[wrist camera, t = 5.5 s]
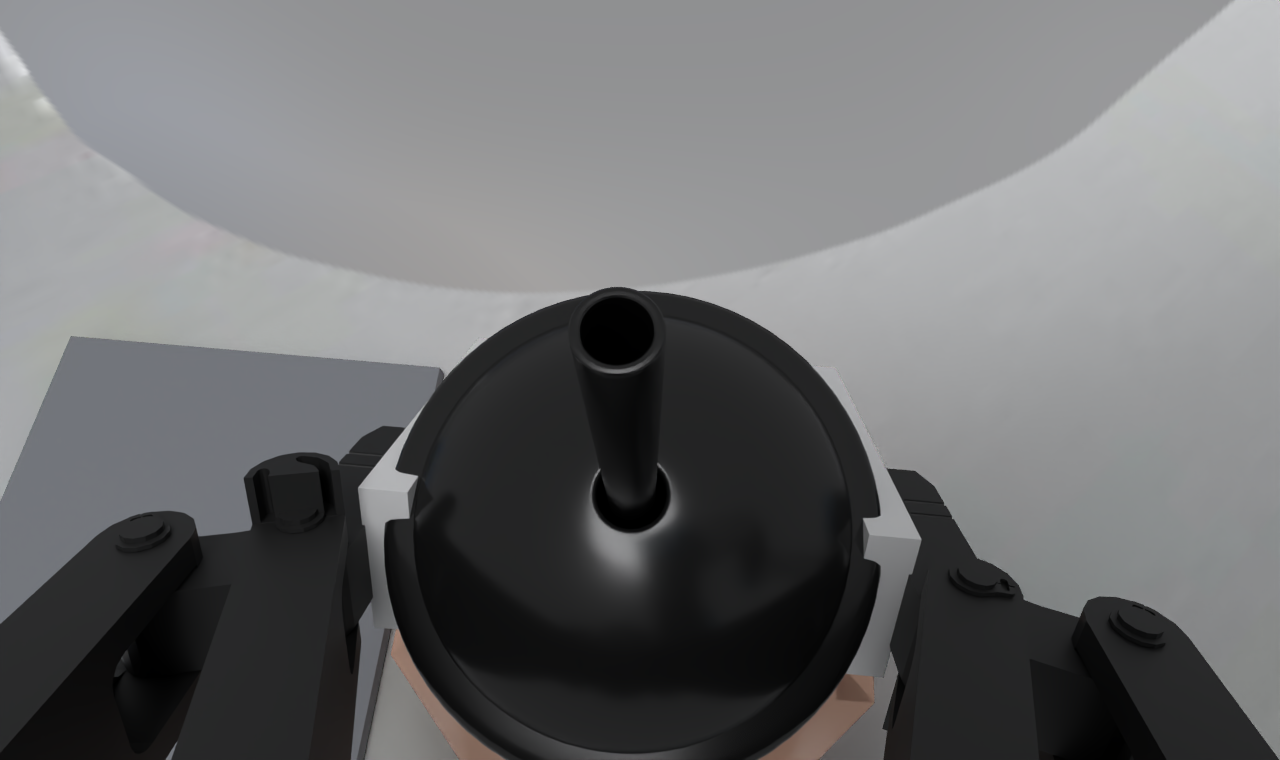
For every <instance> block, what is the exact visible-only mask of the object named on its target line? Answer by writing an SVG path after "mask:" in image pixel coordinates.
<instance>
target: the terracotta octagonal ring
mask: <svg viewBox="0 0 1280 760" xmlns="http://www.w3.org/2000/svg"><path fill="white" fill-rule="evenodd" d="M391 656H392V657H393V659H394V660H395V662H396V663H397V665H398V667H399V668H400V670H401V671H402V673H403V674H404V676H405V677H406V679H407V680H408V682H409V683H410V685H411V686H412V688H413V689H414V691H415V693H416V694H417V696H418V697H419V699H420V700H421V702H422V703H423V705H424V706H425V708H426V709H427V711H428V712H429V714H430V716H431V717H432V719H433V720H434V722H435V723H436V725H437V726H438V728H439V729H440V731H441V732H442V734H443V735H444V737H445V739H446V740H447V742H448V743H449V745H450V746H451V748H452V749H453V751H454V752H455V754H456V755H457V757H458V758H459V760H505V759H504V758H502V757H501V756H499V755H498V754H496V753H495V752H493V751H491V750H490V749H488V748H487V747H486V746H484V745H483V744H482V743H480V742H479V741H478V740H477V739H476V738H474V737H473V736H472V735H471V734H470V733H468V732H467V731H466V730H465V729H464V728H463V727H462V726H461V725H460V724H459V723H458V722H457V721H456V720H455V719H454V718H453V717H452V716H451V715H450V714H449V713H448V712H447V711H446V710H445V708H444V707H443V706H442V705H441V704H440V702H439V701H438V700H437V698H436V697H435V696H434V695H433V693H432V692H431V691H430V689H429V688H428V686H427V685H426V683H425V682H424V680H423V678H422V677H421V675H420V674H419V672H418V670H417V669H416V667H415V665H414V663H413V661H412V659H411V657H410V655H409V653H408V651H407V649H406V647H405V645H404V642H403V640H402V637H401V634H400V632H399V630H398V629H396V632H395V637H394V642H393V646H392V651H391ZM873 704H874V677H873V676H863V675H853V674H845V676H844V677H843V679H842V680H841V682H840V683H839V685H838V686H837V688H836V689H835V691H834V692H833V694H832V695H831V696H830V697H829V699H828V700H827V701H826V702H825V703H824V704H823V706H822V707H821V708H820V709H819V710H818V712H817V713H816V714H815V715H814V716H813V717H812V718H811V719H810V720H809V721H808V722H807V723H806V724H805V725H804V726H803V727H802V728H801V729H800V730H799V731H797V732H796V733H795V734H794V735H793V736H792V737H791V738H789V739H788V740H787V741H785V742H784V743H783V744H781V745H780V746H779V747H777V748H776V749H775V750H773V751H772V752H770V753H769V754H767V755H766V756H764V757H762V758H760V759H759V760H819V759H820V758H821V757H822V756H823V755H824V754H825V753H826V752H827V751H828V750H829V749H830V748H831V747H832V746H833V745H834V744H835V743H836V742H837V740H838V739H839V738H840V737H841V736H842V735H843V734H844V733H845V732H846V731H847V730H848V729H849V728H850V727H851V726H852V725H853V724H854V723H855V722H856V721H857V720H858V719H859V718H860V717H861V716H862V715H863V714H864V713H865V712H866V711H867V710H868V709H869V708H870V707H871V706H872V705H873Z"/></svg>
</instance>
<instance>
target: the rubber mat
mask: <svg viewBox="0 0 1280 760" xmlns="http://www.w3.org/2000/svg"><path fill="white" fill-rule="evenodd" d="M443 377H444V373H443V372H442V370H441V369H440V368H437V367H425V366H413V365H402V364H390V363H378V362H366V361H355V360H343V359H331V358H320V357H308V356H296V355H284V354H273V353H261V352H249V351H238V350H226V349H214V348H202V347H191V346H179V345H167V344H156V343H144V342H132V341H120V340H109V339H97V338H85V337H74V336H71V337H70V339H69V342H68V344H67V346H66V349H65V351H64V353H63V356H62V358H61V361H60V363H59V365H58V368H57V370H56V372H55V375H54V377H53V379H52V382H51V384H50V386H49V389H48V391H47V393H46V396H45V398H44V400H43V403H42V405H41V407H40V410H39V412H38V414H37V417H36V419H35V422H34V424H33V426H32V429H31V431H30V433H29V436H28V438H27V440H26V443H25V445H24V447H23V450H22V452H21V454H20V457H19V459H18V461H17V464H16V466H15V468H14V471H13V473H12V475H11V478H10V480H9V483H8V485H7V487H6V490H5V492H4V494H3V497H2V499H1V501H0V624H1V623H2V622H3V621H4V620H5V619H6V618H7V617H8V616H10V615H11V614H12V613H13V612H14V611H15V610H16V609H17V608H18V607H19V606H20V605H22V604H23V603H24V602H25V601H26V600H27V599H28V598H29V597H30V596H31V595H32V594H34V593H35V592H36V591H37V590H38V589H39V588H40V587H41V586H42V585H43V584H44V583H45V582H47V581H48V580H49V579H50V578H51V577H52V576H53V575H54V574H55V573H56V572H57V571H59V570H60V569H61V568H62V567H63V566H64V565H65V564H66V563H67V562H68V561H69V560H71V559H72V558H73V557H74V556H75V555H76V554H77V553H78V552H79V551H80V550H81V549H83V548H84V547H85V546H86V545H87V544H88V543H89V542H90V541H91V540H92V539H93V538H94V537H96V536H97V535H98V534H99V533H101V532H102V531H104V530H105V529H107V528H108V527H110V526H111V525H113V524H115V523H118V522H120V521H122V520H125V519H127V518H129V517H131V516H134V515H138V514H143V513H146V512H157V511H176V512H182V513H186V514H187V515H189V516H190V517H192V518H194V521H195V525H196V529H197V533H198V536H208V535H217V534H227V533H236V532H243V531H249V530H250V529H251V527H252V520H251V515H250V510H249V505H248V500H247V495H246V489H245V484H244V479H243V478H244V477H245V475H246V474H247V473H248V472H249V470H250V469H252V468H253V467H255V466H256V465H258V464H260V463H261V462H263V461H265V460H268V459H271V458H274V457H277V456H280V455H285V454H291V453H297V452H316V453H320V454H324V455H328V456H330V457H332V458H333V459H334V460H336V461H337V462H338V465H339V462H340V460H341V459H342V458H343V457H344V456H345V455H346V454H349V451H350V449H351V448H352V447H353V446H354V445H355V444H356V443H357V442H358V441H359V439H360V438H361V437H363V436H365V435H366V434H368V433H370V432H372V431H374V430H376V429H378V428H380V427H381V426H392V427H403V428H406V427H407V426H408V425H409V424H410V422H411V421H412V420H413V419H414V417H415V416H416V415H417V414H418V412H419V411H420V410H421V409H422V407H423V406H424V405H425V404H426V402H427V401H428V400H429V399H430V397H431V396H432V394H433V393H434V392H435V390H436V389H437V388H438V386H439V385H440V384H441V383H442V381H443ZM359 626H360V634H361V652H360V663H359V674H358V685H357V697H356V708H355V719H354V730H353V741H352V752H351V760H364V755H365V751H366V746H367V741H368V736H369V731H370V727H371V722H372V717H373V712H374V707H375V703H376V698H377V693H378V688H379V683H380V679H381V674H382V669H383V664H384V660H385V655H386V650H387V645H388V640H389V636H390V631H391V629H387V628H377V627H374V622H373V613H372V605H371V602H370V604H369V605H368V607H367V608H366V610H365V612H364V613H363V615H362V617H361V618H360V620H359ZM176 744H177V742H176ZM176 744H175V746H174V747H173V749H172V750H171V752H170V753H169V755H168V757H167V758H166V760H171V758H172V756H173V753H174V750H175V747H176Z"/></svg>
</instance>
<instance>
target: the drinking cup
mask: <svg viewBox="0 0 1280 760" xmlns="http://www.w3.org/2000/svg"><path fill="white" fill-rule="evenodd" d="M395 470H397V471H398V472H401V473H405V474H410V475H416V476H418V481H417V485H416V490H415V495H414V499H413V504H412V509H411V514H410V518H409V519H392V520H389V521H387V522H386V523H385V528H384V565H385V574H386V580H387V588H388V593H389V598H390V602H391V606H392V610H393V614H394V617H395V621H396V624H397V626H398V629H399V632H400V634H401V637H402V640H403V642H404V645H405V647H406V649H407V651H408V653H409V655H410V657H411V659H412V661H413V663H414V665H415V667H416V669H417V670H418V672H419V674H420V675H421V677H422V678H423V680H424V682H425V683H426V685H427V686H428V688H429V689H430V691H431V692H432V693H433V695H434V696H435V697H436V698H437V700H438V701H439V702H440V704H441V705H442V706H443V707H444V708H445V710H446V711H447V712H448V713H449V714H450V715H451V716H452V717H453V718H454V719H455V720H456V721H457V722H458V723H459V724H460V725H461V726H462V727H463V728H464V729H465V730H466V731H467V732H468V733H470V734H471V735H472V736H473V737H474V738H476V739H477V740H478V741H479V742H480V743H482V744H483V745H484V746H486V747H487V748H488V749H490V750H491V751H493V752H495V753H496V754H498V755H499V756H501V757H502V758H504V759H505V760H759V759H760V758H762V757H764V756H766V755H767V754H769V753H770V752H772V751H773V750H775V749H776V748H777V747H779V746H780V745H781V744H783V743H784V742H785V741H787V740H788V739H789V738H791V737H792V736H793V735H794V734H795V733H796V732H797V731H799V730H800V729H801V728H802V727H803V726H804V725H805V724H806V723H807V722H808V721H809V720H810V719H811V718H812V717H813V716H814V715H815V714H816V713H817V712H818V710H819V709H820V708H821V707H822V706H823V704H824V703H825V702H826V701H827V700H828V699H829V697H830V696H831V695H832V694H833V692H834V691H835V689H836V688H837V686H838V685H839V683H840V682H841V680H842V679H843V677H844V676H845V674H846V673H847V671H848V669H849V667H850V665H851V663H852V662H853V660H854V658H855V656H856V654H857V652H858V650H859V648H860V646H861V643H862V641H863V638H864V636H865V634H866V631H867V629H868V626H869V623H870V619H871V616H872V613H873V609H874V606H875V602H876V598H877V592H878V587H879V582H880V576H881V566H880V565H879V564H878V563H877V562H875V561H872V560H868V559H864V542H863V518H876V517H879V516H881V508H880V501H879V496H878V491H877V486H876V481H875V478H874V474H873V471H872V468H871V464H870V461H869V458H868V455H867V452H866V450H865V448H864V445H863V443H862V441H861V438H860V436H859V434H858V431H857V430H856V428H855V426H854V424H853V422H852V420H851V418H850V416H849V415H848V413H847V411H846V410H845V408H844V407H843V405H842V404H841V402H840V401H839V399H838V398H837V396H836V395H835V393H834V392H833V391H832V389H831V388H830V387H829V386H828V384H827V383H826V382H825V381H824V379H823V378H822V377H821V376H820V375H819V373H818V372H817V371H816V370H815V369H814V368H813V367H812V366H811V365H810V364H809V363H808V362H807V361H806V360H805V359H804V358H803V357H802V356H801V355H799V354H798V353H797V352H796V351H795V350H794V349H793V348H791V347H790V346H789V345H788V344H787V343H785V342H784V341H783V340H781V339H780V338H778V337H777V336H776V335H774V334H773V333H771V332H770V331H768V330H767V329H765V328H763V327H762V326H760V325H758V324H757V323H755V322H753V321H751V320H750V319H748V318H745V317H743V316H741V315H739V314H737V313H735V312H733V311H731V310H728V309H725V308H723V307H720V306H718V305H715V304H712V303H709V302H705V301H702V300H698V299H695V298H691V297H686V296H681V295H676V294H669V293H661V292H651V291H637V290H634V289H630V288H625V287H610V288H605V289H601V290H599V291H596V292H594V293H592V294H590V295H587V296H582V297H578V298H574V299H570V300H566V301H563V302H560V303H557V304H554V305H551V306H548V307H545V308H543V309H540V310H538V311H536V312H534V313H531V314H529V315H527V316H525V317H523V318H521V319H519V320H517V321H515V322H514V323H512V324H510V325H508V326H506V327H505V328H503V329H501V330H500V331H499V332H497V333H496V334H494V335H493V336H491V337H490V338H488V339H487V340H486V341H484V342H483V343H482V344H480V345H479V346H478V347H477V348H476V349H474V350H473V351H472V352H471V353H470V354H468V355H467V356H466V357H465V358H464V359H463V360H462V361H461V362H460V363H459V364H458V365H457V366H456V367H455V368H454V369H453V370H452V371H451V372H450V373H449V375H448V376H447V377H446V378H445V379H444V380H443V382H442V383H441V384H440V385H439V386H438V388H437V389H436V390H435V392H434V393H433V394H432V396H431V397H430V399H429V400H428V402H427V403H426V404H425V406H424V408H423V409H422V411H421V413H420V414H419V416H418V418H417V420H416V421H415V423H414V425H413V427H412V429H411V431H410V433H409V435H408V437H407V439H406V442H405V444H404V446H403V448H402V451H401V453H400V456H399V459H398V462H397V465H396V468H395Z"/></svg>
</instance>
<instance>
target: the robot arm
mask: <svg viewBox="0 0 1280 760" xmlns="http://www.w3.org/2000/svg"><path fill="white" fill-rule="evenodd" d="M487 339H488V338H478V339H477V340H476V342H475V343H474V344H473V345H472V346H471V348H470V349H469V350H468V351H467V353H466V354H465V355H464V356H463V358H462V359H461V360H460V361H459V363H460V362H461V361H462V360H463V359H464V358H465V357H466V356H467V355H468V354H470V353H471V352H472V351H473V350H474V349H476V348H477V347H478V346H479V345H480V344H482V343H483V342H484V341H486V340H487ZM459 363H458V364H459ZM458 364H457V365H458ZM457 365H456V366H457ZM456 366H455V367H456ZM812 367H813V368H814V369H815V370H816V371H817V372H818V373H819V375H820V376H821V377H822V378H823V379H824V381H825V382H826V383H827V384H828V386H829V387H830V388H831V389H832V391H833V392H834V393H835V395H836V396H837V398H838V399H839V401H840V402H841V404H842V405H843V407H844V408H845V410H846V411H847V413H848V415H849V416H850V418H851V420H852V422H853V424H854V426H855V428H856V430H857V431H858V434H859V436H860V438H861V441H862V443H863V445H864V448H865V450H866V452H867V455H868V458H869V461H870V464H871V468H872V471H873V474H874V478H875V481H876V486H877V491H878V496H879V501H880V508H881V516H879V517H876V518H863V542H864V559H868V560H872V561H875V562H877V563H878V564H879V565H880V566H881V576H880V582H879V587H878V592H877V598H876V602H875V606H874V609H873V613H872V616H871V619H870V623H869V626H868V629H867V631H866V634H865V636H864V638H863V641H862V643H861V646H860V648H859V650H858V652H857V654H856V656H855V658H854V660H853V662H852V663H851V665H850V667H849V669H848V671H847V673H846V674H853V675H863V676H873V677H884V674H885V670H886V667H887V663H888V659H889V656H890V652H892V654H893V657H894V660H895V663H896V666H897V669H898V672H899V673H898V676H897V680H896V683H895V687H894V690H893V694H892V697H891V701H890V704H889V708H888V711H887V715H886V718H885V722H884V725H883V729H885V730H887V738H886V745H885V753H884V760H1279V759H1278V758H1277V756H1276V755H1275V754H1274V752H1273V751H1272V749H1271V748H1270V747H1269V745H1268V744H1267V743H1266V741H1265V740H1264V739H1263V737H1262V736H1261V735H1260V733H1259V732H1258V731H1257V729H1256V728H1255V726H1254V725H1253V724H1252V722H1251V721H1250V720H1249V718H1248V717H1247V716H1246V714H1245V713H1244V712H1243V710H1242V709H1241V708H1240V706H1239V705H1238V704H1237V702H1236V701H1235V699H1234V698H1233V697H1232V695H1231V694H1230V693H1229V691H1228V690H1227V689H1226V687H1225V686H1224V685H1223V683H1222V682H1221V681H1220V679H1219V678H1218V676H1217V675H1216V674H1215V672H1214V671H1213V670H1212V668H1211V667H1210V666H1209V664H1208V663H1207V662H1206V660H1205V659H1204V658H1203V656H1202V655H1201V654H1200V652H1199V651H1198V649H1197V648H1196V647H1195V645H1194V644H1193V643H1192V641H1191V640H1190V639H1189V637H1188V636H1187V635H1186V634H1185V633H1184V632H1183V631H1182V630H1181V629H1180V628H1179V627H1178V626H1177V625H1176V624H1175V623H1173V622H1172V621H1170V620H1169V619H1167V618H1166V617H1164V616H1163V615H1161V614H1160V613H1158V612H1157V611H1155V610H1153V609H1151V608H1149V607H1145V606H1144V605H1142V604H1139V603H1137V602H1134V601H1129V600H1125V599H1121V598H1117V597H1097V598H1094V599H1091V600H1088V601H1087V603H1086V605H1085V607H1084V609H1083V611H1082V613H1081V616H1080V618H1079V617H1075V616H1072V615H1068V614H1065V613H1062V612H1058V611H1055V610H1052V609H1048V608H1045V607H1041V606H1039V605H1036V604H1033V603H1030V602H1027V601H1025V600H1024V599H1023V595H1022V592H1021V590H1020V587H1019V585H1018V584H1017V583H1016V582H1015V581H1014V580H1013V579H1012V578H1011V577H1010V576H1009V575H1008V574H1007V573H1005V572H1004V571H1002V570H1001V569H999V568H997V567H996V566H994V565H993V564H990V563H988V562H985V561H982V560H980V559H977V558H976V556H975V554H974V553H973V551H972V549H971V548H970V546H969V544H968V542H967V541H966V539H965V537H964V536H963V534H962V532H961V531H960V529H959V527H958V526H957V524H956V522H955V521H954V519H952V515H951V514H950V512H949V510H948V509H947V507H946V506H944V502H943V500H942V499H941V497H940V495H939V493H938V492H937V490H936V488H935V487H934V486H933V485H932V484H931V483H929V482H928V481H927V480H926V479H924V478H923V477H922V476H921V475H919V474H918V473H917V472H916V471H909V470H897V469H886V467H885V465H884V463H883V461H882V459H881V457H880V455H879V453H878V451H877V449H876V447H875V445H874V443H873V441H872V439H871V437H870V435H869V433H868V431H867V429H866V427H865V425H864V423H863V421H862V419H861V417H860V415H859V413H858V411H857V409H856V407H855V405H854V403H853V401H852V399H851V397H850V395H849V393H848V391H847V389H846V387H845V384H844V382H843V380H842V378H841V376H840V374H839V372H838V370H837V368H834V367H822V366H812ZM427 402H428V401H427ZM427 402H426V403H427ZM424 406H425V405H424ZM424 406H423V407H422V409H423V408H424ZM422 409H421V410H420V411H419V412H418V414H417V415H416V416H415V417H414V419H413V420H412V421H411V422H410V424H409V425H408V426H407V427H406V428H403V427H392V426H381V427H380V428H378V429H376V430H374V431H372V432H370V433H368V434H366V435H365V436H363V437H361V438H360V439H359V441H358V442H357V443H356V444H355V445H354V446H353V447H352V448H351V449H350V451H349V454H346V455H345V456H344V457H343V458H342V459H341V460H340V462H339V465H338V462H337V461H336V460H334V459H333V458H332V457H330V456H328V455H324V454H320V453H316V452H297V453H291V454H285V455H280V456H277V457H274V458H271V459H268V460H265V461H263V462H261V463H260V464H258V465H256V466H255V467H253V468H252V469H250V470H249V472H248V473H247V474H246V475H245V477H244V478H243V479H244V484H245V489H246V495H247V500H248V505H249V510H250V515H251V520H252V527H251V529H250V530H249V531H243V532H236V533H227V534H217V535H208V536H198V533H197V529H196V525H195V521H194V518H192V517H190V516H189V515H187V514H186V513H182V512H176V511H157V512H146V513H143V514H138V515H134V516H131V517H129V518H127V519H125V520H122V521H120V522H118V523H115V524H113V525H111V526H110V527H108V528H107V529H105V530H104V531H102V532H101V533H99V534H98V535H97V536H96V537H94V538H93V539H92V540H91V541H90V542H89V543H88V544H87V545H86V546H85V547H84V548H83V549H81V550H80V551H79V552H78V553H77V554H76V555H75V556H74V557H73V558H72V559H71V560H69V561H68V562H67V563H66V564H65V565H64V566H63V567H62V568H61V569H60V570H59V571H57V572H56V573H55V574H54V575H53V576H52V577H51V578H50V579H49V580H48V581H47V582H45V583H44V584H43V585H42V586H41V587H40V588H39V589H38V590H37V591H36V592H35V593H34V594H32V595H31V596H30V597H29V598H28V599H27V600H26V601H25V602H24V603H23V604H22V605H20V606H19V607H18V608H17V609H16V610H15V611H14V612H13V613H12V614H11V615H10V616H8V617H7V618H6V619H5V620H4V621H3V622H2V623H1V624H0V760H166V758H167V757H168V755H169V753H170V752H171V750H172V749H173V747H174V746H175V744H176V742H177V744H176V747H175V750H174V753H173V756H172V758H171V760H351V752H352V741H353V730H354V719H355V708H356V697H357V685H358V674H359V663H360V652H361V634H360V626H359V620H360V618H361V617H362V615H363V613H364V612H365V610H366V608H367V607H368V605H369V604H370V602H371V605H372V613H373V622H374V627H377V628H387V629H398V626H397V624H396V621H395V617H394V614H393V610H392V606H391V602H390V598H389V593H388V588H387V580H386V574H385V565H384V528H385V523H386V522H387V521H389V520H392V519H409V518H410V514H411V509H412V504H413V499H414V495H415V490H416V485H417V481H418V476H416V475H410V474H405V473H401V472H398V471H397V470H395V468H396V465H397V462H398V459H399V456H400V453H401V451H402V448H403V446H404V444H405V442H406V439H407V437H408V435H409V433H410V431H411V429H412V427H413V425H414V423H415V421H416V420H417V418H418V416H419V414H420V413H421V411H422ZM398 630H399V629H398Z"/></svg>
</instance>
